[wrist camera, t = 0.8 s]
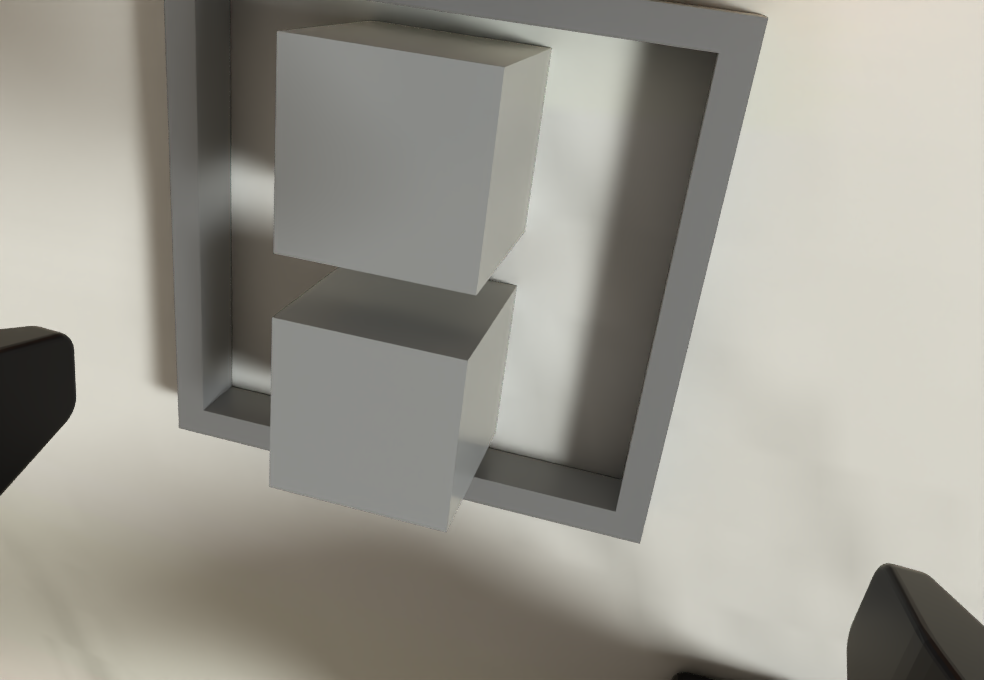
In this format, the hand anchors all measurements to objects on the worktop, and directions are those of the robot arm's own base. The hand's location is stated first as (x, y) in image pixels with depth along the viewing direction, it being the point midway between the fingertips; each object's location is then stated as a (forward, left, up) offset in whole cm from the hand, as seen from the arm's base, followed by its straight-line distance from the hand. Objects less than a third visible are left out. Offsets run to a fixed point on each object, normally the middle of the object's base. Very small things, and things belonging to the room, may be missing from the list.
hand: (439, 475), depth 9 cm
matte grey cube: (+1, +4, -13) cm, 14 cm away
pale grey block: (-5, +4, -13) cm, 15 cm away
